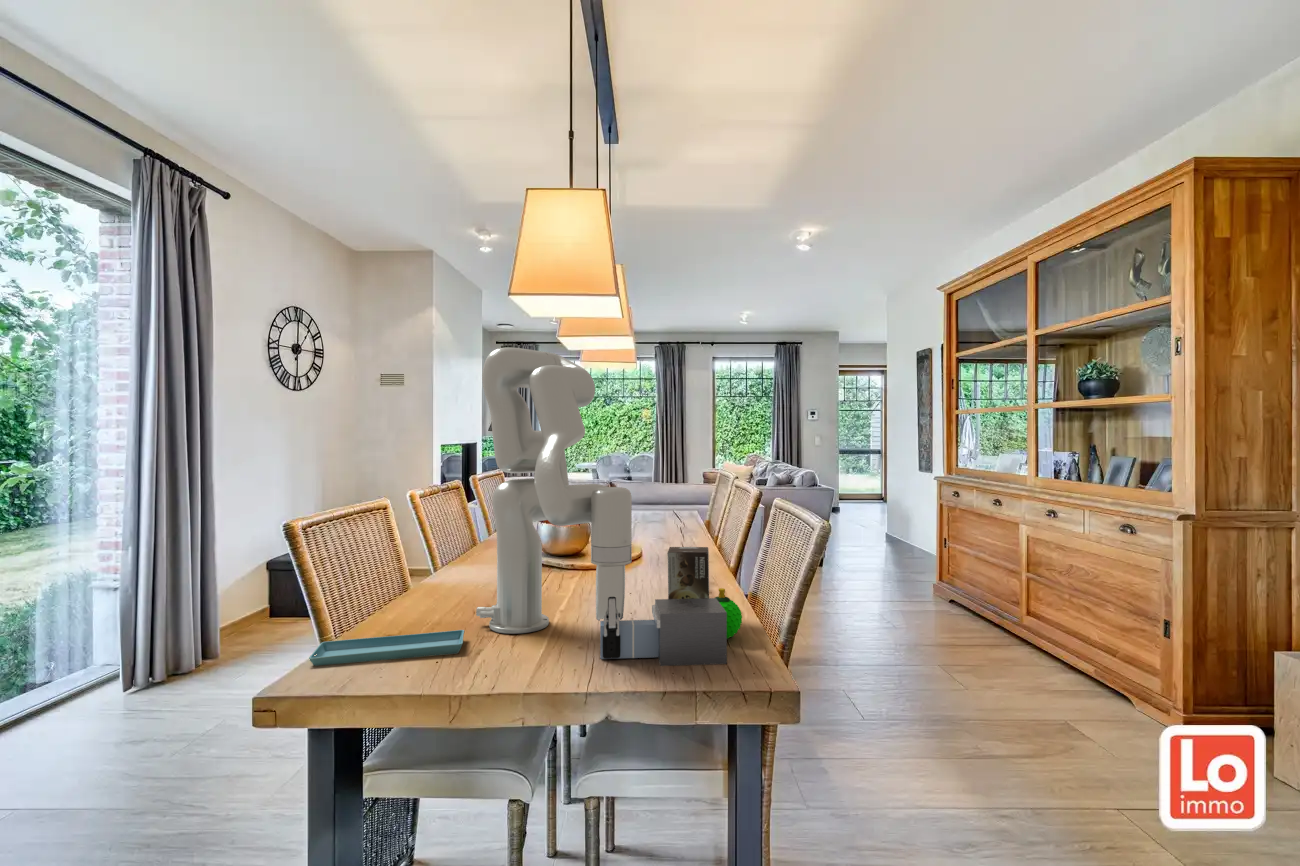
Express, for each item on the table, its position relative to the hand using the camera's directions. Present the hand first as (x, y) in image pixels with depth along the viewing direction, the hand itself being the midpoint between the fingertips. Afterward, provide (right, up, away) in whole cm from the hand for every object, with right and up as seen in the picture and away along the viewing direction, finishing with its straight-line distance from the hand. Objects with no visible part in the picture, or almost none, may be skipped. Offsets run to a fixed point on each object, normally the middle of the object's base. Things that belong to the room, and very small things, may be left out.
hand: (611, 652), depth 113 cm
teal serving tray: (-42, -2, +3) cm, 42 cm away
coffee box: (+16, -1, +22) cm, 27 cm away
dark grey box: (+15, -1, +1) cm, 15 cm away
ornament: (+22, -1, +11) cm, 24 cm away
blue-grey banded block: (+5, -1, 0) cm, 5 cm away
